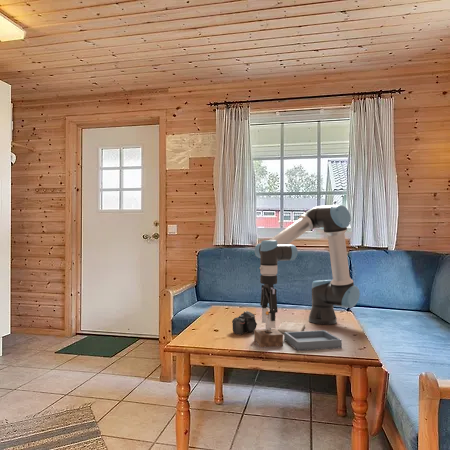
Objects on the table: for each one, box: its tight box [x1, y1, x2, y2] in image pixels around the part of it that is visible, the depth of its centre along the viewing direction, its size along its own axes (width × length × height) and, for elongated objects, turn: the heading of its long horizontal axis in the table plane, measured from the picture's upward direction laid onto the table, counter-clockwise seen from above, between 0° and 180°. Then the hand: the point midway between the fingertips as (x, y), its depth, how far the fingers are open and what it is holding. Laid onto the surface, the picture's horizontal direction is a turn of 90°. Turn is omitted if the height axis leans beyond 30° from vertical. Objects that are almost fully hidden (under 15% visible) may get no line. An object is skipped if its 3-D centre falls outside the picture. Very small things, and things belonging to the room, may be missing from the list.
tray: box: [283, 329, 343, 352], centre depth 164 cm, size 20×16×4 cm
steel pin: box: [265, 310, 272, 333], centre depth 165 cm, size 2×2×14 cm
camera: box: [231, 310, 258, 336], centre depth 183 cm, size 13×10×10 cm
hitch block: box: [253, 328, 284, 348], centre depth 164 cm, size 10×10×5 cm
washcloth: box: [276, 321, 306, 335], centre depth 188 cm, size 12×18×3 cm, turn 161°
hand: (268, 325), depth 165 cm, fingers open, 9 cm apart
